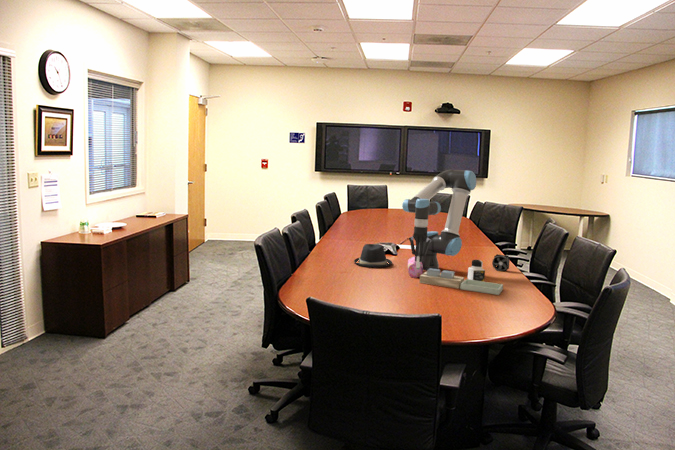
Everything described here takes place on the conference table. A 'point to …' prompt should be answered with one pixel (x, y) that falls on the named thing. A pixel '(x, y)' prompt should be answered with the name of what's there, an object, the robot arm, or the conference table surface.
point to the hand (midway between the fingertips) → (418, 267)
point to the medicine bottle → (476, 271)
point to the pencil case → (414, 268)
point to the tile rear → (433, 272)
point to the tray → (481, 286)
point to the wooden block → (441, 281)
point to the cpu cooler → (501, 262)
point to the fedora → (373, 256)
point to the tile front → (447, 274)
